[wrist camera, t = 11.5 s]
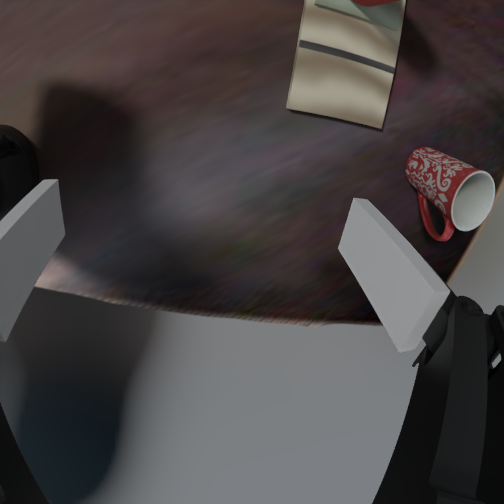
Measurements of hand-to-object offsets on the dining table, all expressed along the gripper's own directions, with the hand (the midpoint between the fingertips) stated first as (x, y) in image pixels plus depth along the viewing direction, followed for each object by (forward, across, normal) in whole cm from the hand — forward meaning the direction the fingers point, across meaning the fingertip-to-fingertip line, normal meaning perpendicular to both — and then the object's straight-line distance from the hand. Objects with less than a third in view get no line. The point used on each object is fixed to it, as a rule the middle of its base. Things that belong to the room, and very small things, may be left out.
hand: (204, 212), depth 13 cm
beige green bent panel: (+29, +17, +15) cm, 37 cm away
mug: (+29, +34, -4) cm, 45 cm away
